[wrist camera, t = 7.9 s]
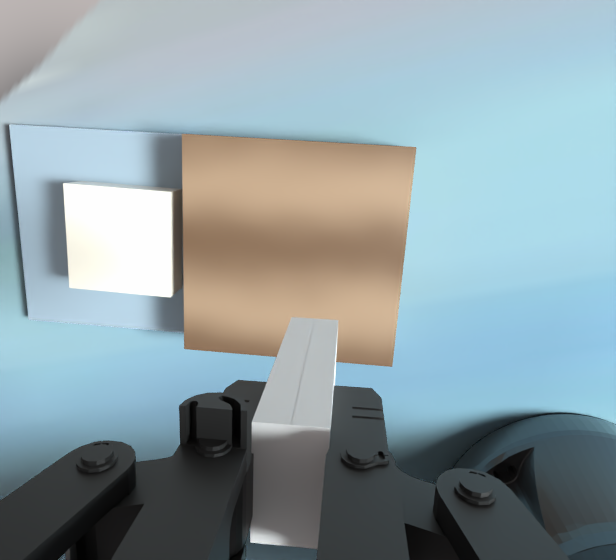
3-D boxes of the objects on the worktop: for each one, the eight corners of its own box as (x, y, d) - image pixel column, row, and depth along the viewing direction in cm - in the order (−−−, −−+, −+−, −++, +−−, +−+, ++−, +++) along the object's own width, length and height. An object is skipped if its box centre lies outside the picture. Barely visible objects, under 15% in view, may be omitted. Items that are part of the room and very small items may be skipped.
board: (388, 346, 31) (391, 366, 28) (199, 330, 31) (184, 349, 29) (409, 147, 28) (416, 147, 25) (198, 135, 28) (181, 133, 25)
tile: (181, 287, 30) (170, 297, 28) (87, 279, 30) (69, 287, 29) (182, 188, 29) (169, 191, 27) (82, 180, 29) (63, 183, 27)
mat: (199, 330, 31) (196, 333, 31) (34, 316, 32) (28, 319, 32) (198, 135, 28) (195, 135, 28) (15, 124, 29) (9, 124, 28)
